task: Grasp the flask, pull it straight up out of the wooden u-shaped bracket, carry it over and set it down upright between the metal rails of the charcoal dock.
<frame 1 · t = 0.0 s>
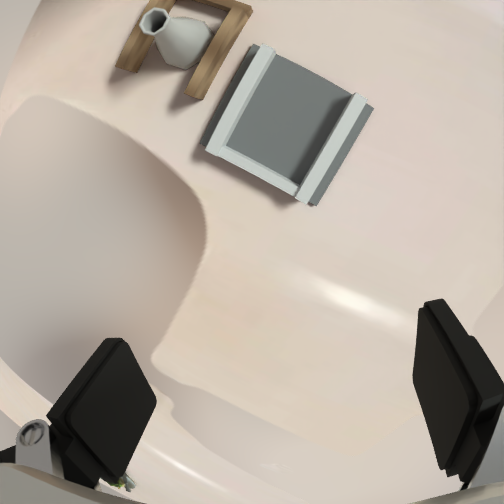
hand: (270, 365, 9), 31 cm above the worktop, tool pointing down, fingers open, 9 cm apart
wooden u-shaped bracket: (185, 42, 33), on the worktop
flask: (186, 43, 33), resting in wooden u-shaped bracket
salad plate: (111, 470, 77), on the worktop
dock: (286, 122, 35), on the worktop
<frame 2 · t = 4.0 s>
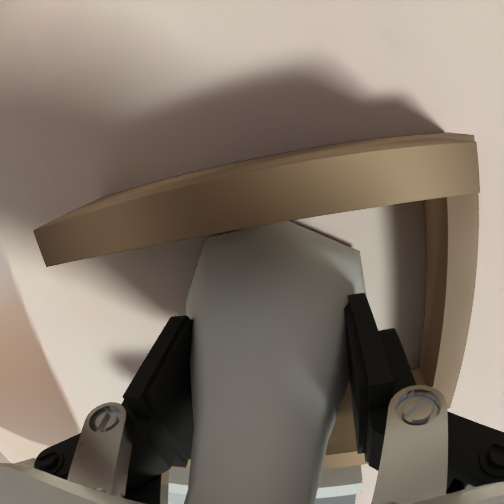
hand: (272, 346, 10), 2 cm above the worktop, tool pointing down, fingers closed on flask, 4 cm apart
wooden u-shaped bracket: (277, 308, 12), on the worktop
flask: (277, 304, 13), resting in wooden u-shaped bracket, touching gripper
dock: (259, 490, 19), on the worktop
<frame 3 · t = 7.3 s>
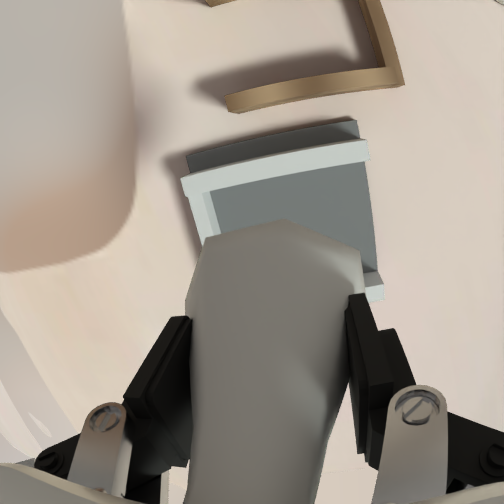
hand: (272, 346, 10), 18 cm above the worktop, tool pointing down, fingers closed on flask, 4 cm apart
wooden u-shaped bracket: (295, 34, 21), on the worktop
flask: (277, 304, 12), point 15 cm above the worktop, touching gripper
dock: (290, 228, 27), on the worktop
when the fingers open (4 cm above the worktop, at t = 10.7 s): flask drops 1 cm, resting on dock.
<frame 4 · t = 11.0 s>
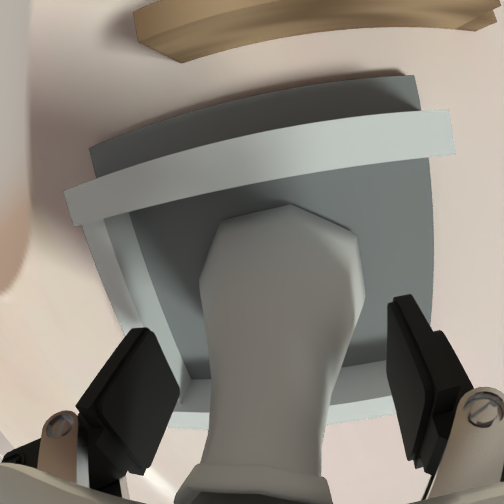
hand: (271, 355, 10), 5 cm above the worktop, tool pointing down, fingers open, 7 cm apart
flask: (283, 283, 14), resting on dock
dock: (280, 282, 14), on the worktop
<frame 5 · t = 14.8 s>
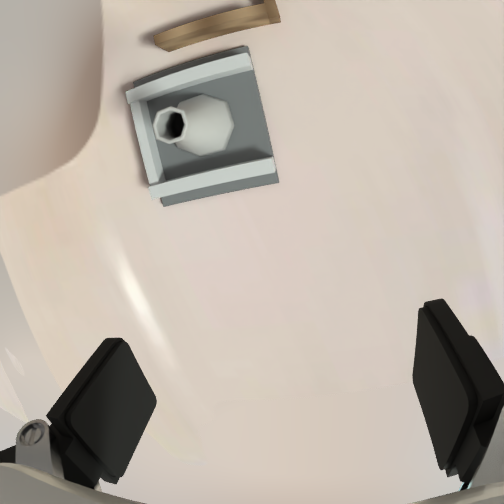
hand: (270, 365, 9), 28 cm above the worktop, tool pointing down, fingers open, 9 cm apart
flask: (203, 125, 33), resting on dock
dock: (203, 126, 34), on the worktop
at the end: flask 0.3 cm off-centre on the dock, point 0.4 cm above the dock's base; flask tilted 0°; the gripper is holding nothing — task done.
